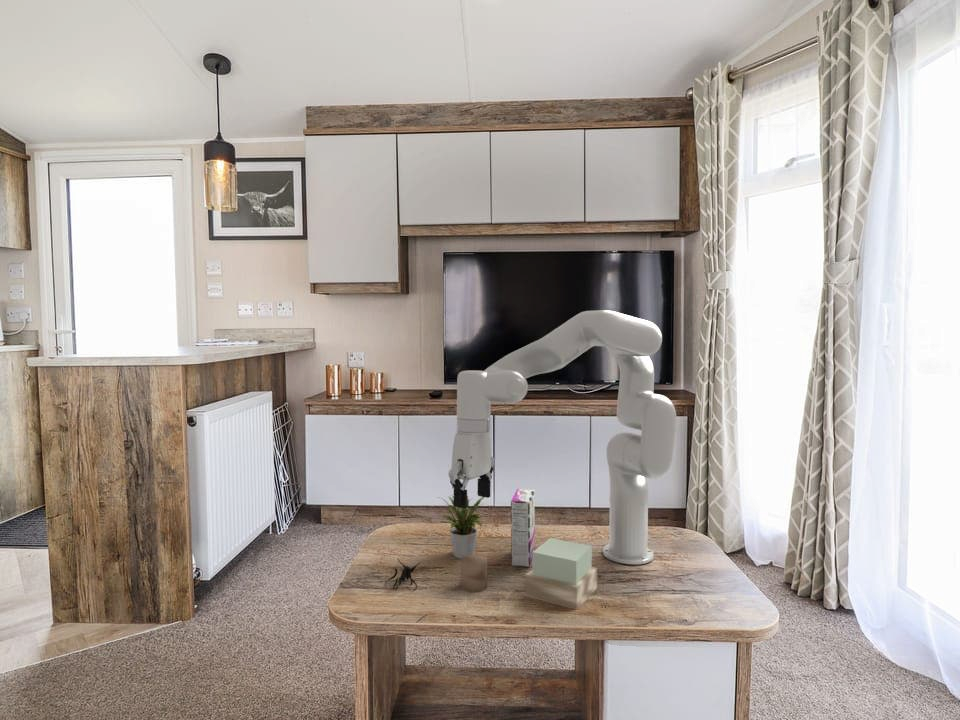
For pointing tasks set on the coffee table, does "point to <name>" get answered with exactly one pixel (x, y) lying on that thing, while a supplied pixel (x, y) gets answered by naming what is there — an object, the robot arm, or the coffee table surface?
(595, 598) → the coffee table surface
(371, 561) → the coffee table surface
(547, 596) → the tower base
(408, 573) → the creature
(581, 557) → the tower top
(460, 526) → the house plant
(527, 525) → the candy bar box
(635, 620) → the coffee table surface
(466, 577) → the walnut cylinder
